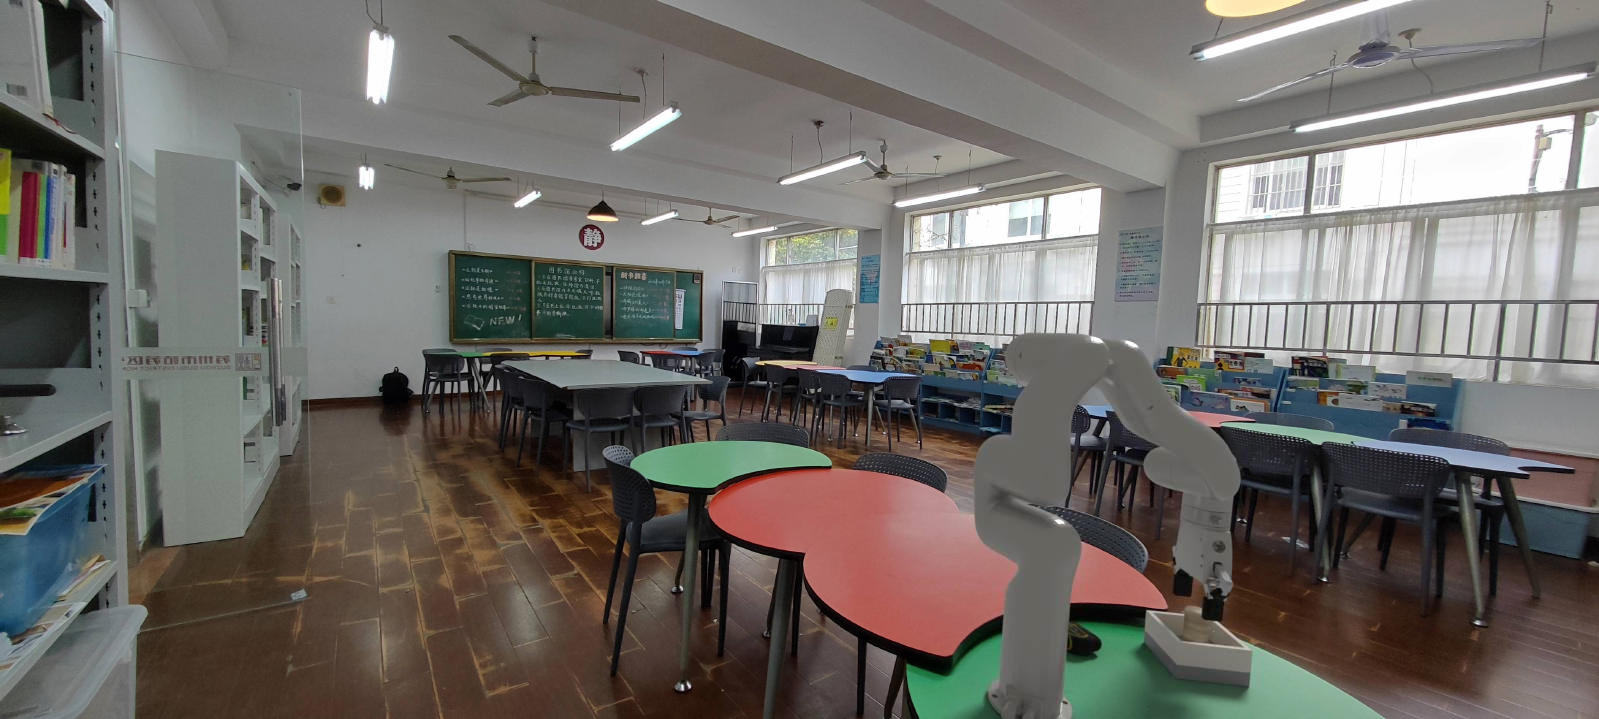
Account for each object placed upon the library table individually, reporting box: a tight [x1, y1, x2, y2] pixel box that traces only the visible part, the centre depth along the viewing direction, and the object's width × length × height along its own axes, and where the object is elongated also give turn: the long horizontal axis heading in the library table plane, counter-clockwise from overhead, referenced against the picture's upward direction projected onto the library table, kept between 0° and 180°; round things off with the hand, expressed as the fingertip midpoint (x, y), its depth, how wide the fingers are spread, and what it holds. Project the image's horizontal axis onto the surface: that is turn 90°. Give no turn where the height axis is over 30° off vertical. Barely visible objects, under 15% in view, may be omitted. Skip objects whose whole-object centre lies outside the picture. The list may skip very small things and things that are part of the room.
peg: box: [1182, 605, 1211, 644], centre depth 106 cm, size 4×4×10 cm
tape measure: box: [1067, 621, 1103, 655], centre depth 110 cm, size 7×7×4 cm
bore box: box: [1143, 609, 1253, 688], centre depth 106 cm, size 12×12×6 cm
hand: (1195, 607), depth 106 cm, fingers open, 9 cm apart
